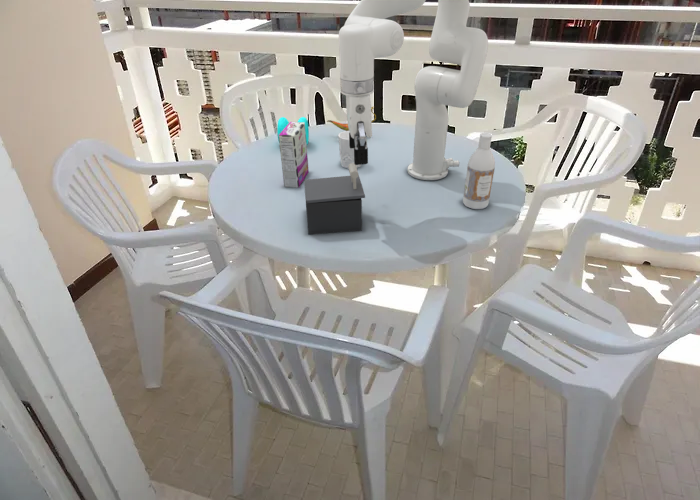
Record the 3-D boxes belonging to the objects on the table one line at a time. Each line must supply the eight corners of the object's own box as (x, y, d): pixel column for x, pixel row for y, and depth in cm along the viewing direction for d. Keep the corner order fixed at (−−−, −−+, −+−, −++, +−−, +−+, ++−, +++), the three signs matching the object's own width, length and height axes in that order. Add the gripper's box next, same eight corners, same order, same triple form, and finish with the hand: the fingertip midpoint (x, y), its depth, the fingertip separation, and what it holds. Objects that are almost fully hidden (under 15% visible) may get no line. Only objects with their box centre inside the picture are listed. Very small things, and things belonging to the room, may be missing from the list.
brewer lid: (358, 177, 127) (358, 156, 123) (365, 198, 117) (364, 176, 114) (304, 182, 126) (302, 161, 122) (306, 203, 116) (303, 181, 113)
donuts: (307, 151, 166) (305, 122, 160) (278, 151, 166) (275, 122, 160) (309, 140, 174) (308, 113, 169) (282, 140, 174) (279, 113, 169)
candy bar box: (293, 171, 152) (289, 121, 143) (309, 172, 151) (305, 122, 142) (282, 187, 143) (277, 134, 134) (299, 188, 142) (294, 135, 133)
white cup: (335, 167, 154) (334, 137, 149) (344, 158, 160) (344, 129, 155) (358, 171, 152) (358, 141, 146) (366, 161, 158) (367, 132, 152)
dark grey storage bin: (355, 208, 132) (355, 179, 127) (361, 230, 122) (361, 200, 117) (306, 211, 131) (304, 182, 126) (308, 234, 121) (306, 203, 116)
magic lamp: (326, 135, 178) (325, 106, 172) (373, 132, 180) (374, 103, 174) (328, 142, 172) (327, 112, 166) (377, 139, 174) (378, 108, 168)
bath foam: (469, 211, 130) (479, 140, 119) (458, 199, 136) (467, 131, 124) (492, 208, 131) (505, 138, 120) (481, 196, 137) (492, 128, 126)
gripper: (379, 96, 102) (379, 169, 112) (367, 73, 116) (368, 140, 126) (344, 98, 101) (347, 172, 111) (336, 75, 115) (339, 142, 125)
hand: (358, 155), depth 118 cm, fingers open, 9 cm apart
